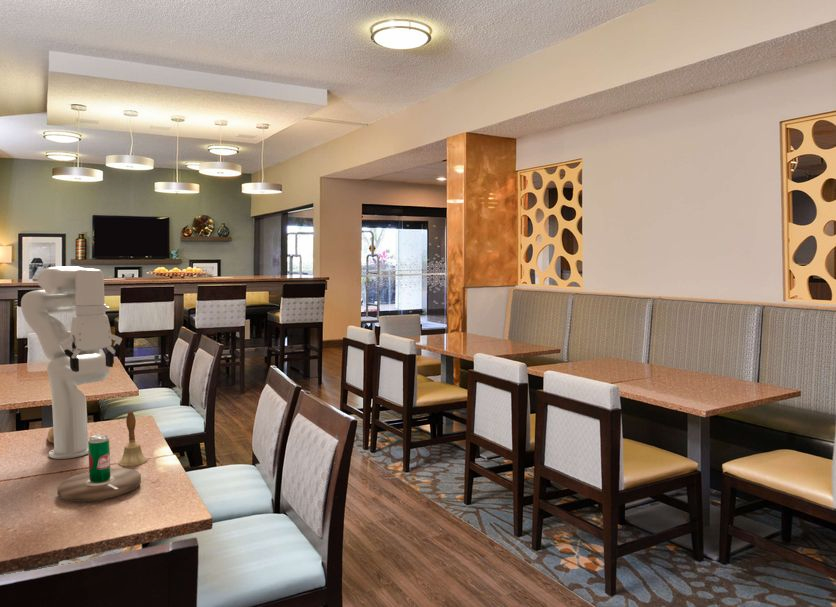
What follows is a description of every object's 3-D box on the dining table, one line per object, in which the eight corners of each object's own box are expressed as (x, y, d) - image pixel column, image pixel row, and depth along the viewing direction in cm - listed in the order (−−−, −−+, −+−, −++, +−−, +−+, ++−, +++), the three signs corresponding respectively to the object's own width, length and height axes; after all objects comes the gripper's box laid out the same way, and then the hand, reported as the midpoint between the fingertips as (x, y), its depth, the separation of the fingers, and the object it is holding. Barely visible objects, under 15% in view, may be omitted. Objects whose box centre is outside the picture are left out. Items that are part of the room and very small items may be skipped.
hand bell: (136, 467, 181) (134, 415, 180) (111, 465, 183) (110, 413, 182) (153, 458, 190) (151, 408, 188) (130, 456, 191) (128, 407, 190)
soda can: (100, 484, 160) (98, 440, 159) (85, 482, 161) (83, 438, 161) (114, 478, 165) (113, 435, 164) (100, 476, 166) (98, 433, 165)
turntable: (44, 488, 161) (44, 483, 161) (119, 468, 177) (119, 463, 177) (77, 507, 149) (77, 501, 149) (155, 484, 165) (154, 478, 165)
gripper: (114, 308, 185) (116, 363, 187) (53, 312, 172) (55, 371, 173) (126, 309, 181) (128, 366, 182) (64, 313, 167) (66, 374, 168)
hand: (92, 368), depth 177 cm, fingers open, 9 cm apart
